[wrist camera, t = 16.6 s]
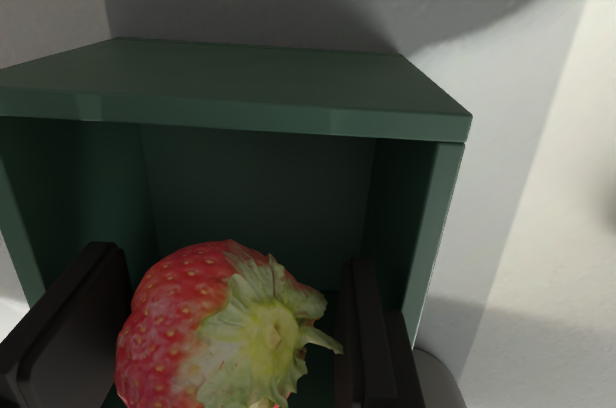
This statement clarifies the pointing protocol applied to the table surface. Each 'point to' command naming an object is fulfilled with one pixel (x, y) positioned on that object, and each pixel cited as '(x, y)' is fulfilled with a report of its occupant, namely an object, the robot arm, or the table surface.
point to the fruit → (217, 331)
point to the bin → (231, 166)
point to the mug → (437, 382)
